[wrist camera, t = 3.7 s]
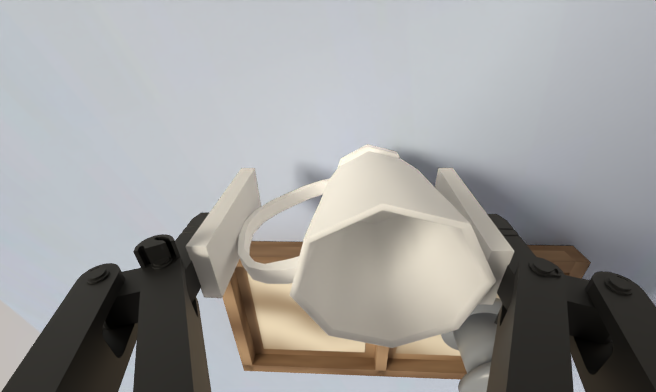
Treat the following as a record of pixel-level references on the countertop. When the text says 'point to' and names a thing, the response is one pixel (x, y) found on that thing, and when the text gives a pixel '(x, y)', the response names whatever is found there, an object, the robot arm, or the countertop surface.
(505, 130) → the countertop surface
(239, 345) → the slot tray
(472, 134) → the countertop surface
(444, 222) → the cup
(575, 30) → the countertop surface
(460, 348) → the doorknob
